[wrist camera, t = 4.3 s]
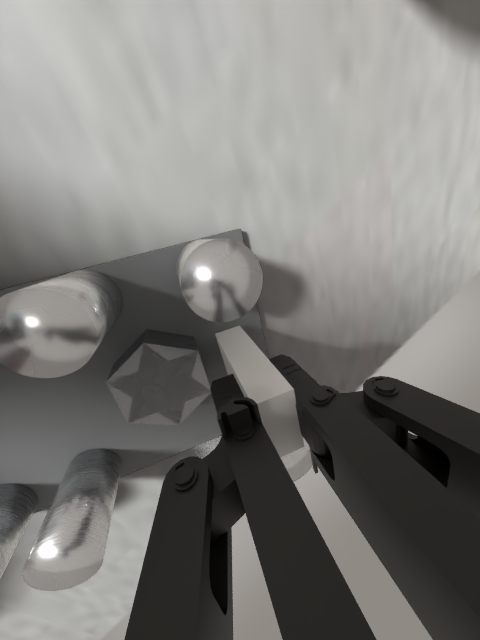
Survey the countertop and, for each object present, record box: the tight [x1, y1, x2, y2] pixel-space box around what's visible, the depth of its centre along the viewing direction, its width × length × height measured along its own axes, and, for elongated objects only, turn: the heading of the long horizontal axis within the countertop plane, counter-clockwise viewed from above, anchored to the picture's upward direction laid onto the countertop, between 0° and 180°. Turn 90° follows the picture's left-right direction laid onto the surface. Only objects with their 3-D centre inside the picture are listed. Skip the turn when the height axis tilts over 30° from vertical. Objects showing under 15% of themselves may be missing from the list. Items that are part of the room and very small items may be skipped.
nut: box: [106, 329, 211, 425], centre depth 13 cm, size 5×5×2 cm
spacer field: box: [0, 238, 312, 591], centre depth 11 cm, size 19×13×5 cm
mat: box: [0, 229, 269, 513], centre depth 14 cm, size 23×13×1 cm, turn 103°
